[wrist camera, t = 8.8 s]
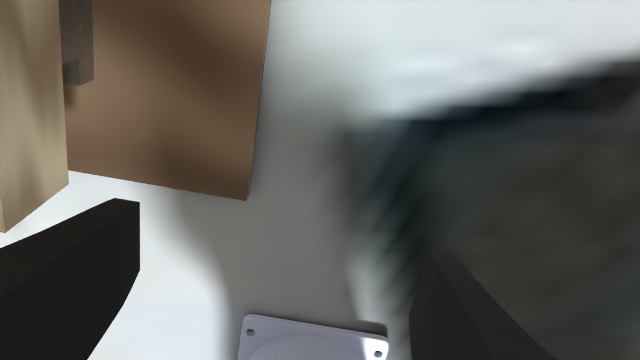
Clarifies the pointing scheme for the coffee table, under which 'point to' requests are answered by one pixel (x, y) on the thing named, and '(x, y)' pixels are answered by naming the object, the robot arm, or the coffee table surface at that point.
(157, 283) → the coffee table surface
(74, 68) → the gray stepped block
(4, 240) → the coffee table surface
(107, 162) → the board
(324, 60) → the coffee table surface
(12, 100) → the beech bar
